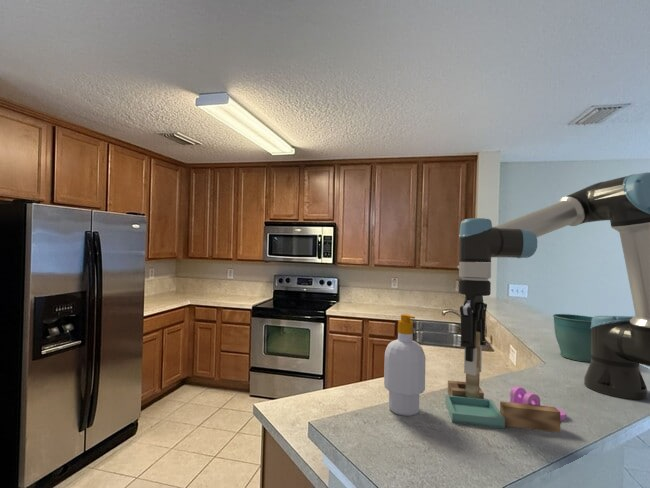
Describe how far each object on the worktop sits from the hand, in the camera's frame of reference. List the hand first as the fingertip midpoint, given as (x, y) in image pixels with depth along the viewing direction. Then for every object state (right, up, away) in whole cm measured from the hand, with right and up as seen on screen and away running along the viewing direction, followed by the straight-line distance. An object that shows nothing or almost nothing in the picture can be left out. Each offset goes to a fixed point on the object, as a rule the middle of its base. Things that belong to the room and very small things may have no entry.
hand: (472, 372), depth 88 cm
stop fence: (+11, -11, -6) cm, 16 cm away
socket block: (+2, -11, +10) cm, 15 cm away
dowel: (0, -6, 0) cm, 6 cm away
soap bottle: (-17, -10, +1) cm, 20 cm away
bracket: (+17, -12, 0) cm, 21 cm away
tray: (0, -11, 0) cm, 11 cm away
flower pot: (+68, -15, +57) cm, 91 cm away
